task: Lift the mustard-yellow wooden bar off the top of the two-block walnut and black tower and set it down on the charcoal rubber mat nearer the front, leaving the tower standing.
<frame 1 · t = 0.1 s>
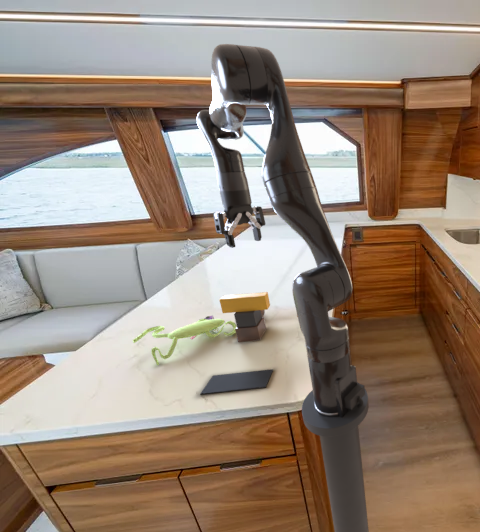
hand: (245, 243, 90), 33 cm above the counter, tool pointing down, fingers open, 8 cm apart
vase: (256, 319, 113), on the counter
bar: (247, 309, 98), point 10 cm above the counter, touching tower top
figurine: (188, 341, 100), on the counter
tower base: (252, 335, 102), on the counter, touching tower top
tower top: (249, 322, 100), point 5 cm above the counter, touching bar, tower base
mat: (238, 382, 80), on the counter
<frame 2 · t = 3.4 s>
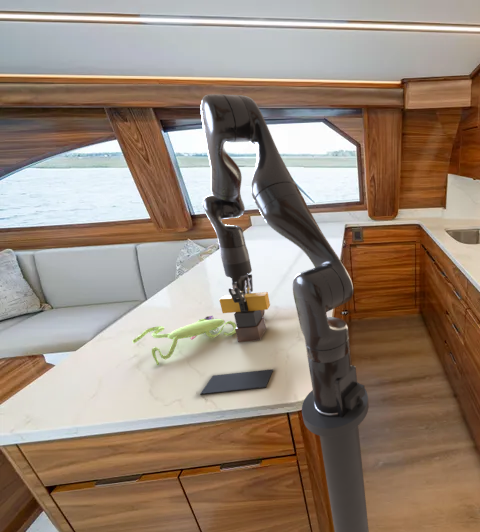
hand: (246, 308, 98), 10 cm above the counter, tool pointing down, fingers closed on bar, 3 cm apart
bar: (247, 309, 98), point 10 cm above the counter, touching gripper, tower top
everything else where it was.
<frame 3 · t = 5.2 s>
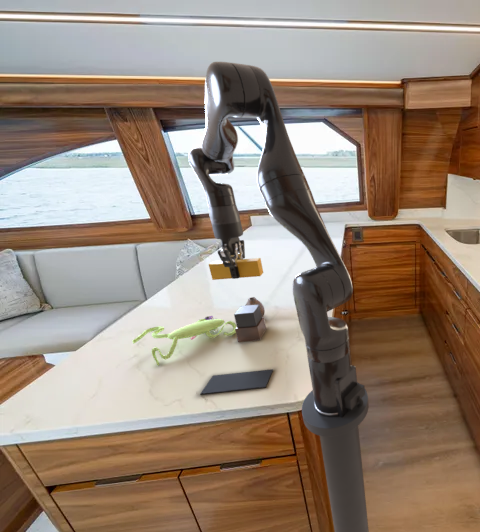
hand: (238, 275, 92), 23 cm above the counter, tool pointing down, fingers closed on bar, 3 cm apart
bar: (238, 276, 92), point 23 cm above the counter, touching gripper
tower top: (249, 322, 100), point 5 cm above the counter, touching tower base
everything else where it was.
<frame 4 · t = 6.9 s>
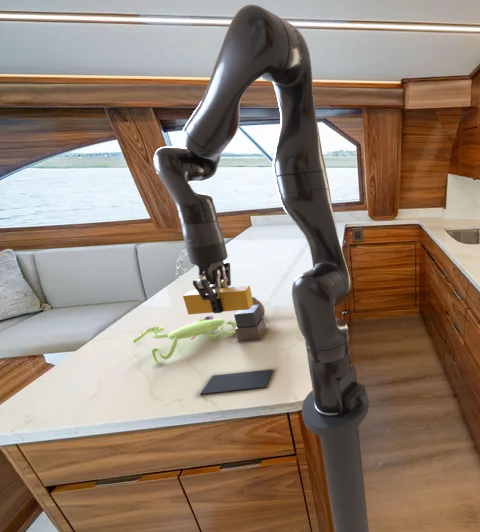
hand: (222, 308, 73), 22 cm above the counter, tool pointing down, fingers closed on bar, 3 cm apart
bar: (221, 309, 73), point 21 cm above the counter, touching gripper
everything else where it was.
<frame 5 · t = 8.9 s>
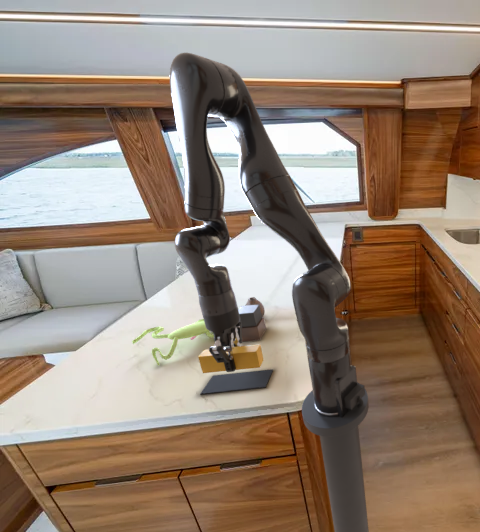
hand: (234, 365, 78), 5 cm above the counter, tool pointing down, fingers closed on bar, 3 cm apart
bar: (234, 366, 78), point 5 cm above the counter, touching gripper
everything else where it was.
when the fingers open (0 cm above the counter, at t = 10.6 s): bar stays where it is, resting on mat.
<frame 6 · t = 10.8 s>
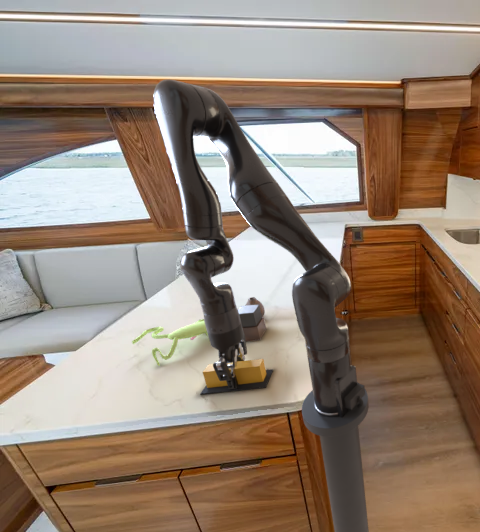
hand: (238, 380, 79), 1 cm above the counter, tool pointing down, fingers open, 5 cm apart
bar: (237, 380, 79), resting on mat
everything else where it was.
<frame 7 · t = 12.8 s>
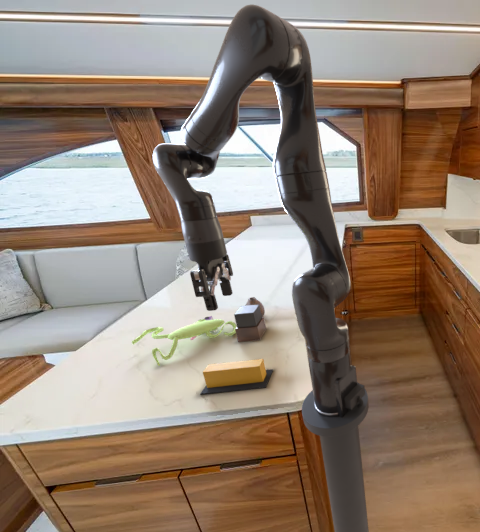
hand: (220, 302, 73), 23 cm above the counter, tool pointing down, fingers open, 8 cm apart
nothing on the counter moved.
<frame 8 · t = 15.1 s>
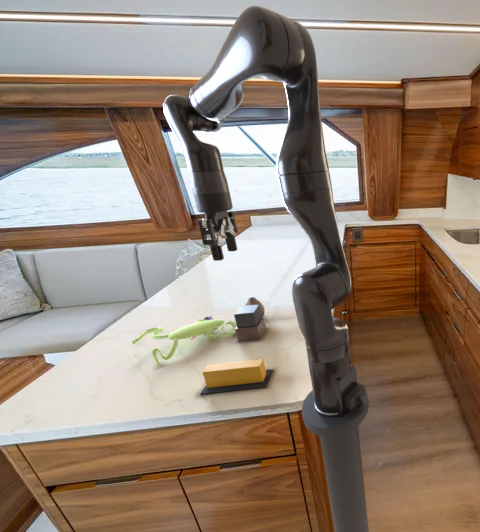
hand: (226, 255, 77), 33 cm above the counter, tool pointing down, fingers open, 8 cm apart
nothing on the counter moved.
at the end: bar inside the target area on the mat (0.2 cm from its centre), point 0.4 cm above the mat's base; tower top point 5.0 cm above the counter; tower base moved 0.0 cm from its start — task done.
